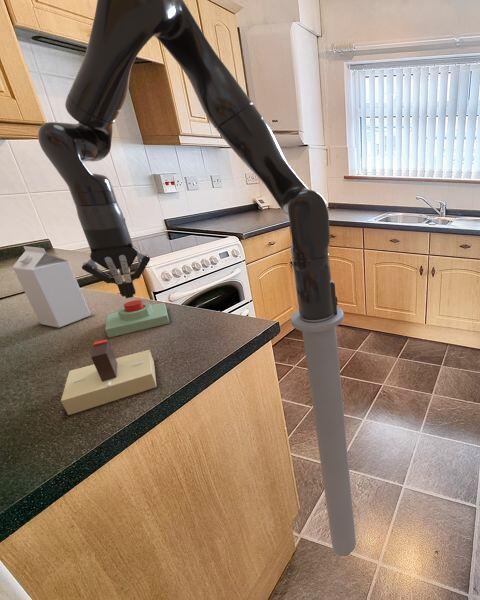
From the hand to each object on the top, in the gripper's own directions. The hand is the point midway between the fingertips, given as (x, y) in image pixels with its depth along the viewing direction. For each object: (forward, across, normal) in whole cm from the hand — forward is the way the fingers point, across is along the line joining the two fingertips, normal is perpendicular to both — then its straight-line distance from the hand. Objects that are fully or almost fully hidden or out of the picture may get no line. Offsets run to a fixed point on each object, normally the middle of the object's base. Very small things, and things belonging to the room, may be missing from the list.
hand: (129, 296), depth 81 cm
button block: (+7, 0, 0) cm, 7 cm away
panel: (+7, -4, -28) cm, 29 cm away
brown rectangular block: (+4, -4, -28) cm, 28 cm away
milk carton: (+7, -15, +13) cm, 21 cm away
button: (+4, 0, 0) cm, 4 cm away
